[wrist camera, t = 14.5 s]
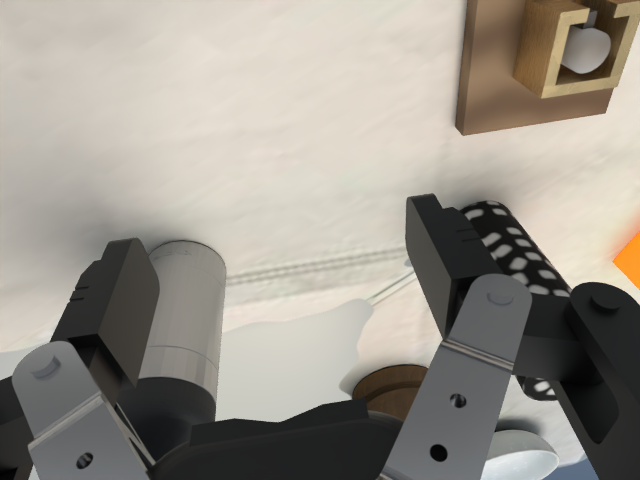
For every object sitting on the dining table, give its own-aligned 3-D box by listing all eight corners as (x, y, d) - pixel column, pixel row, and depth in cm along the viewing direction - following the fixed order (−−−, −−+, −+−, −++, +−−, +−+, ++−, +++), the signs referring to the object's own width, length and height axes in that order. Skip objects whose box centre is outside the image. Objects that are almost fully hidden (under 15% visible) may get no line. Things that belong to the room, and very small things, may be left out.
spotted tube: (523, 204, 50) (643, 344, 34) (493, 257, 55) (585, 400, 39) (459, 197, 48) (554, 342, 33) (433, 253, 53) (505, 401, 38)
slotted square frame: (580, 67, 38) (617, 86, 34) (512, 77, 38) (541, 98, 34) (602, -13, 34) (646, -1, 30) (526, -2, 34) (560, 12, 30)
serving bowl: (475, 471, 99) (487, 504, 94) (425, 449, 88) (436, 484, 83) (558, 434, 92) (576, 467, 86) (514, 404, 81) (532, 440, 75)
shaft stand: (592, 105, 43) (641, 136, 37) (455, 127, 42) (484, 161, 37) (655, -98, 32) (735, -96, 27) (474, -71, 32) (518, -63, 27)
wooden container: (355, 418, 77) (383, 567, 60) (348, 373, 68) (379, 533, 51) (436, 404, 77) (486, 548, 60) (440, 356, 68) (501, 511, 51)
